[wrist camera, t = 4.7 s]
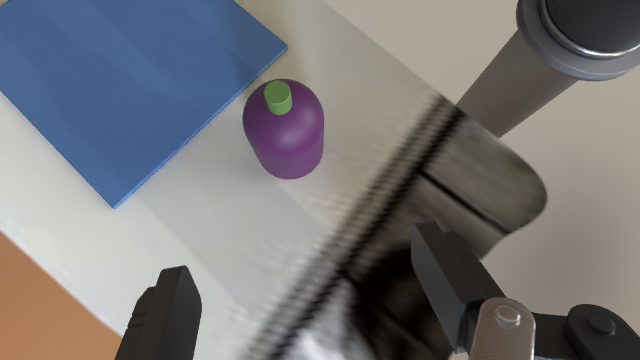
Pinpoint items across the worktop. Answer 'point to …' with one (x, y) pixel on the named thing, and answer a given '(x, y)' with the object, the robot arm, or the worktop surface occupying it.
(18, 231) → the worktop surface
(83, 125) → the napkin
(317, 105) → the eggplant
